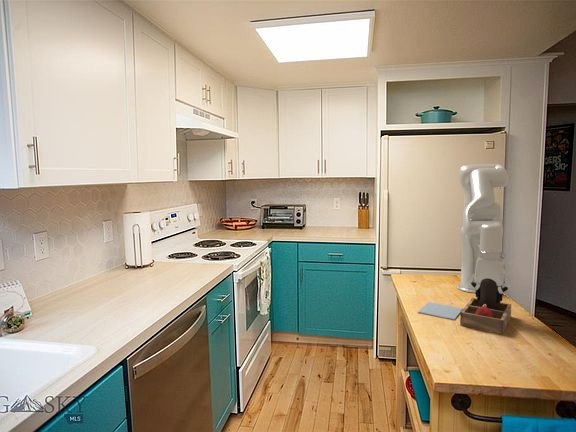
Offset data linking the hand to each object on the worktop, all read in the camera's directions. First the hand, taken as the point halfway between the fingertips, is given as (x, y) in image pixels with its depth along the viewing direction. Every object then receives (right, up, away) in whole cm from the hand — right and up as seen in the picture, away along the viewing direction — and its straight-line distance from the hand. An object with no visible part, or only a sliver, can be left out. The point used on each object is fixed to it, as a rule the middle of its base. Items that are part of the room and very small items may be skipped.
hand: (488, 300), depth 148 cm
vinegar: (0, -7, +1) cm, 7 cm away
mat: (-15, -6, +8) cm, 19 cm away
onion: (-6, -8, -7) cm, 12 cm away
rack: (-3, -7, -3) cm, 8 cm away
